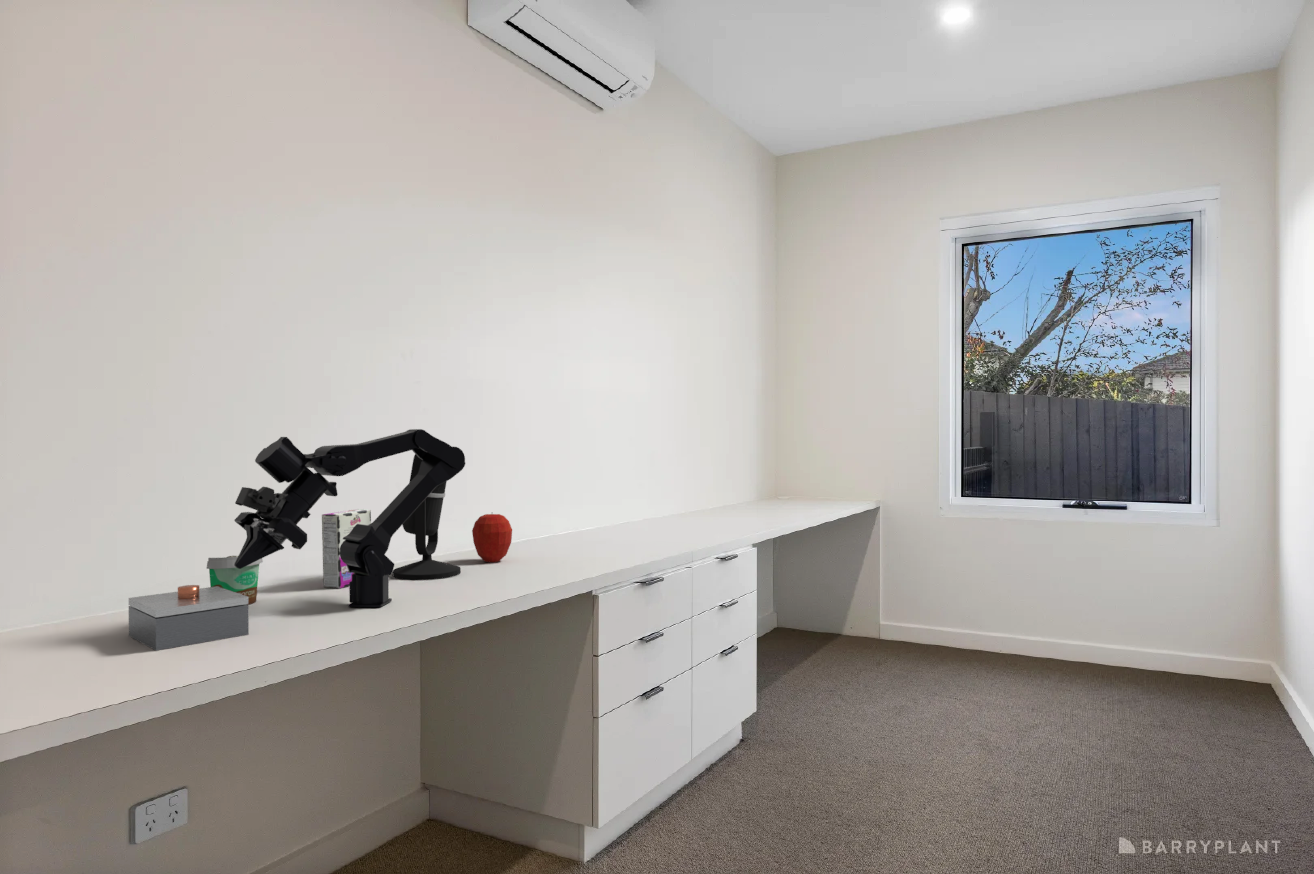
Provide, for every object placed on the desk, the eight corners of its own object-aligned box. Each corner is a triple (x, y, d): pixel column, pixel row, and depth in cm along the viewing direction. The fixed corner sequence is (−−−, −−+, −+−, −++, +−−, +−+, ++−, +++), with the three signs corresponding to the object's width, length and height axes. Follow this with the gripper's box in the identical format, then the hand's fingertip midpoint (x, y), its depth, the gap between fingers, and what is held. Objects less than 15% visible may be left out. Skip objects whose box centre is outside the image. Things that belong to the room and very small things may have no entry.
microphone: (405, 568, 207) (405, 449, 207) (467, 568, 206) (467, 449, 206) (382, 579, 191) (382, 450, 191) (450, 580, 191) (449, 450, 190)
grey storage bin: (217, 621, 149) (217, 593, 149) (248, 634, 140) (248, 604, 140) (128, 635, 139) (128, 606, 139) (155, 650, 130) (155, 618, 130)
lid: (217, 592, 149) (217, 576, 149) (248, 603, 140) (248, 586, 140) (128, 604, 139) (128, 587, 139) (155, 617, 130) (155, 598, 129)
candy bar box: (354, 578, 192) (354, 508, 192) (372, 580, 191) (372, 509, 191) (320, 587, 182) (320, 513, 182) (339, 589, 180) (339, 514, 180)
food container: (234, 610, 158) (234, 559, 158) (206, 609, 159) (206, 558, 159) (276, 598, 170) (276, 549, 170) (250, 597, 172) (250, 549, 171)
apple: (519, 559, 221) (519, 507, 221) (497, 565, 212) (497, 511, 212) (487, 557, 225) (487, 506, 225) (464, 562, 216) (464, 509, 216)
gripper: (244, 469, 155) (181, 534, 147) (287, 472, 142) (221, 543, 134) (287, 507, 161) (229, 571, 153) (332, 513, 148) (272, 584, 140)
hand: (236, 567), depth 145 cm, fingers closed
